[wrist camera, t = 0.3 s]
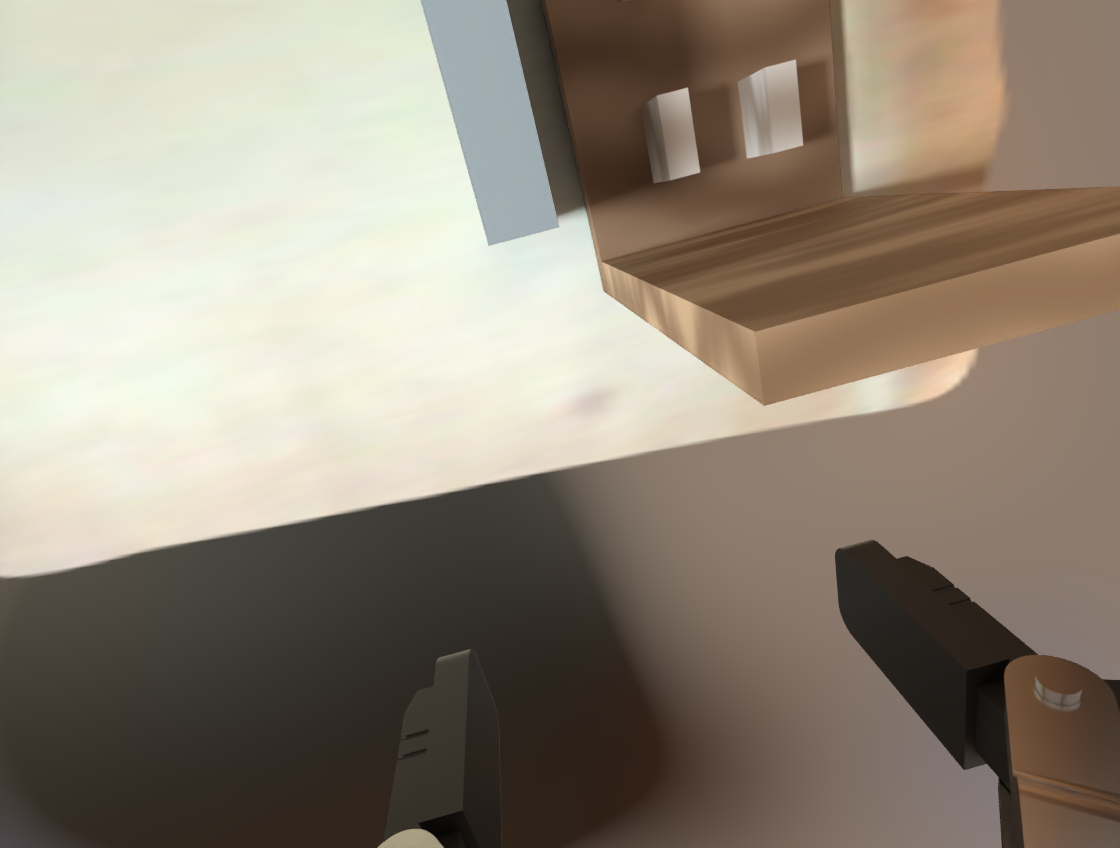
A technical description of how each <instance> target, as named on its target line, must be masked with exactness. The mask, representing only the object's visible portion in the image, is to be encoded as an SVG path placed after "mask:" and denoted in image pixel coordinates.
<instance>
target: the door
mask: <svg viewBox="0 0 1120 848" xmlns="http://www.w3.org/2000/svg"><path fill="white" fill-rule="evenodd" d="M421 3H422V6H423V10H424V14H425V17H426V21H427V24H428V28H429V32H430V35H431V39H432V43H433V46H434V50H435V53H436V57H437V61H438V64H439V68H440V71H441V75H442V79H443V82H444V86H445V89H446V93H447V97H448V100H449V104H450V108H451V111H452V115H453V118H454V122H455V126H456V129H457V133H458V136H459V140H460V144H461V147H462V151H463V154H464V158H465V162H466V165H467V169H468V172H469V176H470V180H471V183H472V187H473V191H474V194H475V198H476V201H477V205H478V209H479V212H480V216H481V219H482V223H483V227H484V230H485V234H486V237H487V241H488V245H489V246H490V245H493V244H497V243H501V242H505V241H509V240H512V239H516V238H520V237H524V236H528V235H531V234H535V233H539V232H543V231H546V230H550V229H554V228H558V227H559V224H558V220H557V215H556V211H555V207H554V203H553V198H552V194H551V190H550V185H549V181H548V177H547V173H546V168H545V164H544V160H543V155H542V151H541V147H540V143H539V138H538V134H537V130H536V125H535V121H534V117H533V112H532V108H531V104H530V100H529V95H528V91H527V87H526V82H525V78H524V74H523V70H522V65H521V61H520V57H519V52H518V48H517V44H516V40H515V35H514V31H513V27H512V22H511V18H510V14H509V9H508V5H507V1H506V0H421Z"/></svg>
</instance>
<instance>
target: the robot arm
mask: <svg viewBox="0 0 1120 848" xmlns="http://www.w3.org/2000/svg"><path fill="white" fill-rule="evenodd" d="M835 563H836V576H837V588H838V602H839V608H840V613H841V616H842V618H843V621H844V623H845V625H846V627H847V629H848V630H849V632H850V633H851V635H852V636H853V637H854V638H855V640H856V641H857V642H858V643H859V644H860V646H861V647H862V648H863V649H864V650H865V652H866V653H867V654H868V655H869V656H870V658H871V659H872V660H873V661H874V662H875V664H876V665H877V666H878V667H879V668H880V669H881V671H882V672H883V673H884V674H885V676H886V677H887V678H888V679H889V680H890V682H891V683H892V684H893V685H894V686H895V687H896V689H897V690H898V691H899V692H900V694H901V695H902V696H903V697H904V698H905V700H906V701H907V702H908V703H909V705H910V706H911V707H912V708H913V709H914V710H915V712H916V713H917V714H918V715H919V717H920V718H921V719H922V720H923V721H924V723H925V724H926V725H927V726H928V727H929V728H930V730H931V731H932V732H933V733H934V735H935V736H936V737H937V738H938V739H939V740H940V742H941V743H942V744H943V745H944V747H945V748H946V749H947V750H948V751H949V753H950V754H951V755H952V756H953V757H954V759H955V760H956V761H957V762H958V763H959V765H960V766H961V767H962V768H963V769H964V770H966V769H970V768H973V767H977V766H980V765H984V764H988V765H989V767H990V768H991V769H992V770H993V771H994V772H995V773H996V775H997V776H998V798H999V799H998V800H999V814H1000V828H1001V829H1000V830H1001V844H1002V848H1120V680H1104V679H1101V678H1100V677H1099V676H1098V675H1097V674H1095V673H1093V672H1092V671H1090V670H1089V669H1087V668H1085V667H1083V666H1081V665H1079V664H1077V663H1074V662H1072V661H1069V660H1066V659H1063V658H1059V657H1054V656H1048V655H1038V654H1036V653H1035V652H1034V651H1033V650H1032V649H1031V648H1029V647H1028V646H1027V645H1026V644H1025V643H1023V642H1022V641H1021V640H1020V639H1019V638H1017V637H1016V636H1015V635H1014V634H1013V633H1011V632H1010V631H1009V630H1008V629H1007V628H1005V627H1004V626H1003V625H1002V624H1001V623H999V622H998V621H997V620H996V619H995V618H993V617H992V616H991V615H989V614H988V613H987V612H986V611H985V610H984V609H982V608H981V607H980V606H979V605H978V604H976V603H975V602H971V600H970V598H969V597H968V596H967V595H965V594H964V593H963V592H962V591H961V590H960V589H958V588H955V587H954V585H953V584H952V583H951V582H950V581H949V580H947V579H946V578H945V577H944V576H943V575H942V574H940V573H939V572H938V571H937V570H935V569H934V568H933V567H930V566H928V565H926V564H924V563H921V562H919V561H917V560H914V559H912V558H910V557H907V556H906V557H902V558H899V559H896V558H895V557H894V556H893V555H892V554H890V553H889V552H888V551H887V550H886V549H885V548H884V547H883V546H881V545H880V544H879V543H878V542H876V541H875V540H868V541H865V542H861V543H857V544H854V545H850V546H846V547H843V548H839V549H837V551H836V553H835ZM499 745H500V743H499V724H498V717H497V712H496V708H495V704H494V701H493V698H492V695H491V693H490V690H489V687H488V685H487V682H486V680H485V677H484V674H483V672H482V669H481V667H480V664H479V662H478V659H477V656H476V654H475V652H474V651H473V650H472V649H470V650H466V651H463V652H459V653H455V654H452V655H448V656H444V657H441V658H438V660H437V662H436V669H435V680H434V686H432V687H429V688H426V689H421V690H418V691H417V692H416V694H415V696H414V698H413V700H412V701H411V703H410V705H409V707H408V708H407V710H406V712H405V714H404V720H403V726H402V733H401V742H400V745H399V751H398V761H397V763H396V770H395V776H394V782H393V788H392V794H391V800H390V807H389V813H388V819H387V825H386V831H385V837H384V841H383V843H382V844H381V845H380V846H379V847H378V848H502V838H501V790H500V746H499Z"/></svg>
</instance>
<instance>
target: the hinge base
mask: <svg viewBox="0 0 1120 848" xmlns="http://www.w3.org/2000/svg"><path fill="white" fill-rule="evenodd" d="M541 1H542V6H543V11H544V15H545V20H546V25H547V29H548V34H549V39H550V43H551V48H552V53H553V57H554V62H555V67H556V71H557V76H558V80H559V85H560V90H561V94H562V99H563V104H564V108H565V113H566V118H567V122H568V127H569V132H570V136H571V141H572V146H573V150H574V155H575V160H576V164H577V169H578V173H579V178H580V183H581V187H582V192H583V197H584V201H585V206H586V211H587V215H588V220H589V225H590V229H591V234H592V239H593V243H594V248H595V253H596V257H597V262H598V266H599V271H600V276H601V280H602V285H603V290H604V292H605V293H607V294H608V295H610V296H611V297H612V298H614V299H615V300H617V301H618V302H619V303H621V304H622V305H624V306H625V307H627V308H628V309H629V310H631V311H632V312H634V313H635V314H636V315H638V316H639V317H641V318H642V319H643V320H645V321H646V322H648V323H649V324H650V325H652V326H653V327H655V328H656V329H657V330H659V331H660V332H662V333H663V334H664V335H666V336H667V337H669V338H670V339H671V340H673V341H674V342H676V343H677V344H678V345H680V346H681V347H683V348H684V349H685V350H687V351H688V352H690V353H691V354H692V355H694V356H695V357H697V358H698V359H699V360H701V361H702V362H704V363H705V364H706V365H708V366H709V367H711V368H712V369H713V370H715V371H716V372H718V373H719V374H720V375H722V376H723V377H725V378H726V379H728V380H729V381H730V382H732V383H733V384H735V385H736V386H737V387H739V388H740V389H742V390H743V391H744V392H746V393H747V394H749V395H750V396H751V397H753V398H754V399H756V400H757V401H758V402H760V403H761V404H763V405H764V406H765V405H769V404H773V403H776V402H780V401H784V400H787V399H791V398H795V397H798V396H802V395H806V394H809V393H813V392H817V391H821V390H824V389H828V388H832V387H835V386H839V385H843V384H846V383H850V382H854V381H857V380H861V379H865V378H869V377H872V376H876V375H880V374H883V373H887V372H891V371H894V370H898V369H902V368H905V367H909V366H913V365H916V364H920V363H924V362H928V361H931V360H935V359H939V358H942V357H946V356H950V355H953V354H957V353H961V352H964V351H968V350H972V349H976V348H979V347H983V346H986V345H990V344H994V343H998V342H1001V341H1005V340H1008V339H1012V338H1016V337H1020V336H1024V335H1027V334H1031V333H1034V332H1038V331H1042V330H1045V329H1049V328H1053V327H1057V326H1060V325H1064V324H1068V323H1071V322H1075V321H1079V320H1083V319H1086V318H1090V317H1094V316H1097V315H1101V314H1105V313H1108V312H1112V311H1116V310H1119V309H1120V187H1096V188H1072V189H1046V190H1021V191H996V192H970V193H945V194H920V195H894V196H869V197H844V198H842V186H841V171H840V156H839V141H838V127H837V112H836V97H835V82H834V67H833V52H832V37H831V22H830V7H829V0H541Z"/></svg>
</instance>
